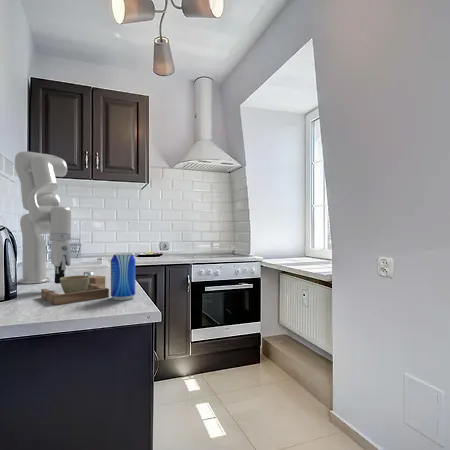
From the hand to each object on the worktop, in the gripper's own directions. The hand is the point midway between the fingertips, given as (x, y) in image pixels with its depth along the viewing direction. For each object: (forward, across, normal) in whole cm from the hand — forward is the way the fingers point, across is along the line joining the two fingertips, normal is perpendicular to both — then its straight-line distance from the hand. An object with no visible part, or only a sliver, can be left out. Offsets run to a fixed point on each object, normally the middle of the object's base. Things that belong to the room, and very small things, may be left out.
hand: (59, 282), depth 133 cm
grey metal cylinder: (+3, +1, -12) cm, 12 cm away
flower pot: (+2, -17, 0) cm, 18 cm away
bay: (+2, -17, 0) cm, 18 cm away
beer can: (+2, -31, -12) cm, 34 cm away
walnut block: (+3, -7, -12) cm, 14 cm away
